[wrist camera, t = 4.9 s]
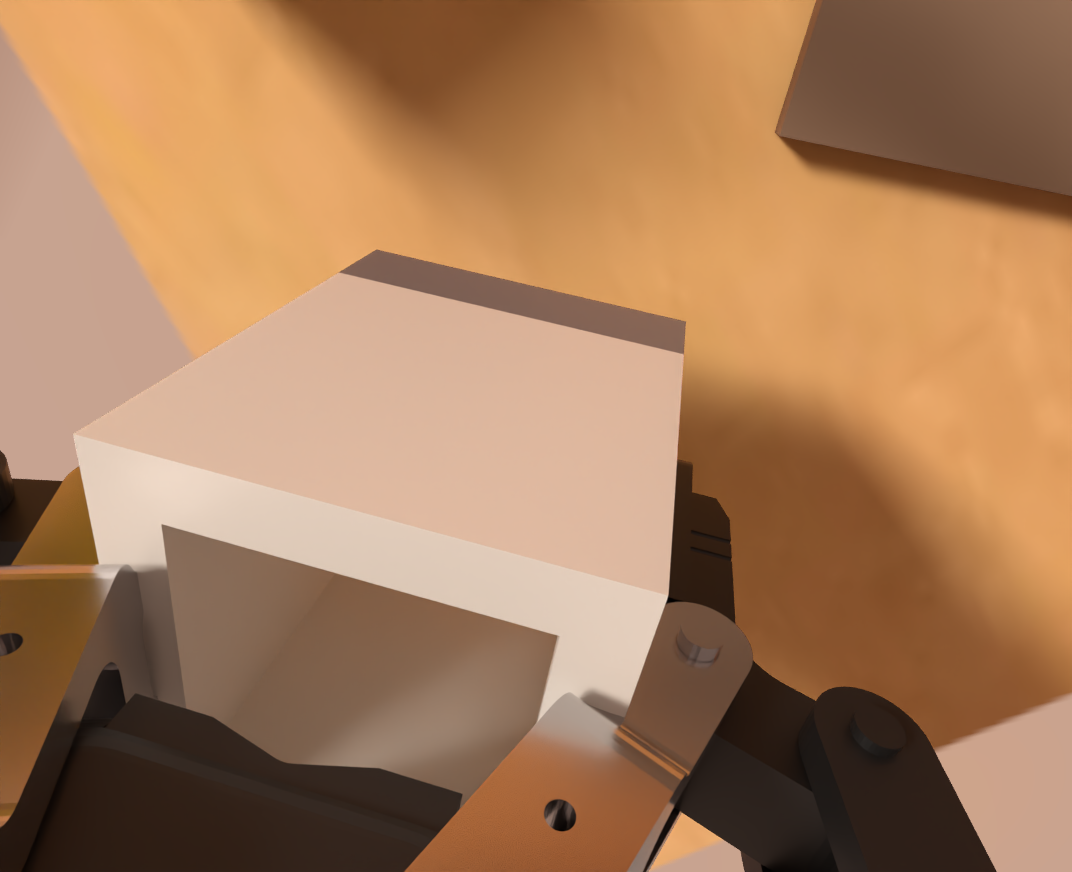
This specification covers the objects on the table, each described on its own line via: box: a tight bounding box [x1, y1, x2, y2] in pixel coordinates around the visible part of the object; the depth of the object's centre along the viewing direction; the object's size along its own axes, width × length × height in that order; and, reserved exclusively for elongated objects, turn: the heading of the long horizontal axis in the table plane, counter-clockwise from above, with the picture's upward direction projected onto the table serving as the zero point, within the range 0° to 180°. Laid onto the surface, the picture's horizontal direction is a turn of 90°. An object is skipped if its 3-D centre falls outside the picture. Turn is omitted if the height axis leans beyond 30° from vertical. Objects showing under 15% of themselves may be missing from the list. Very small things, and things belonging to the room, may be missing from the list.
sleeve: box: [73, 250, 686, 808], centre depth 11 cm, size 6×6×7 cm
